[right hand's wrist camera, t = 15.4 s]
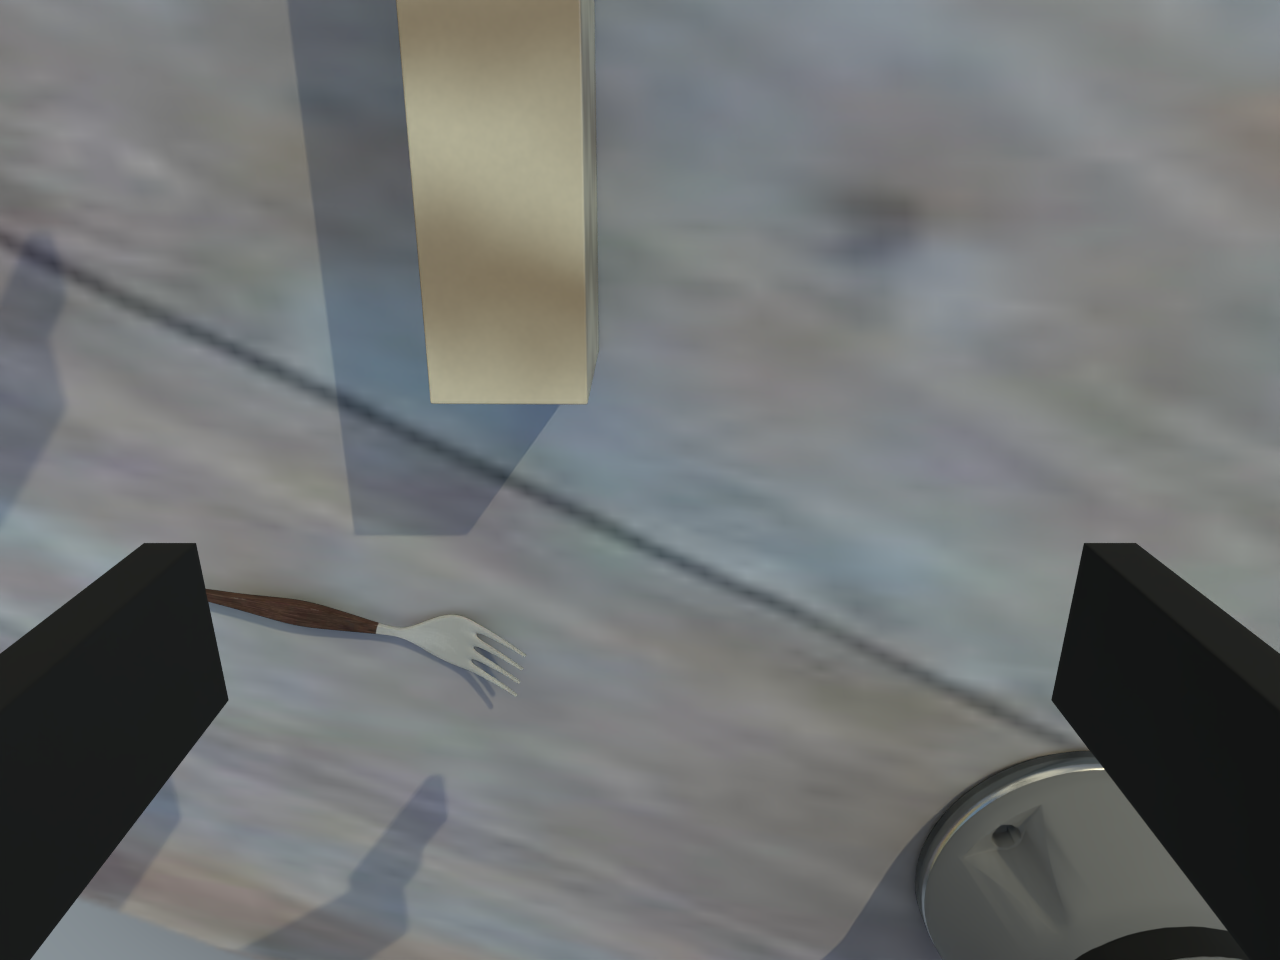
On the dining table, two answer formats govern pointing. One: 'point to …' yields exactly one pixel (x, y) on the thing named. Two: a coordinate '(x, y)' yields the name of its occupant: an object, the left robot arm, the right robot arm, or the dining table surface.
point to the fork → (384, 629)
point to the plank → (504, 195)
